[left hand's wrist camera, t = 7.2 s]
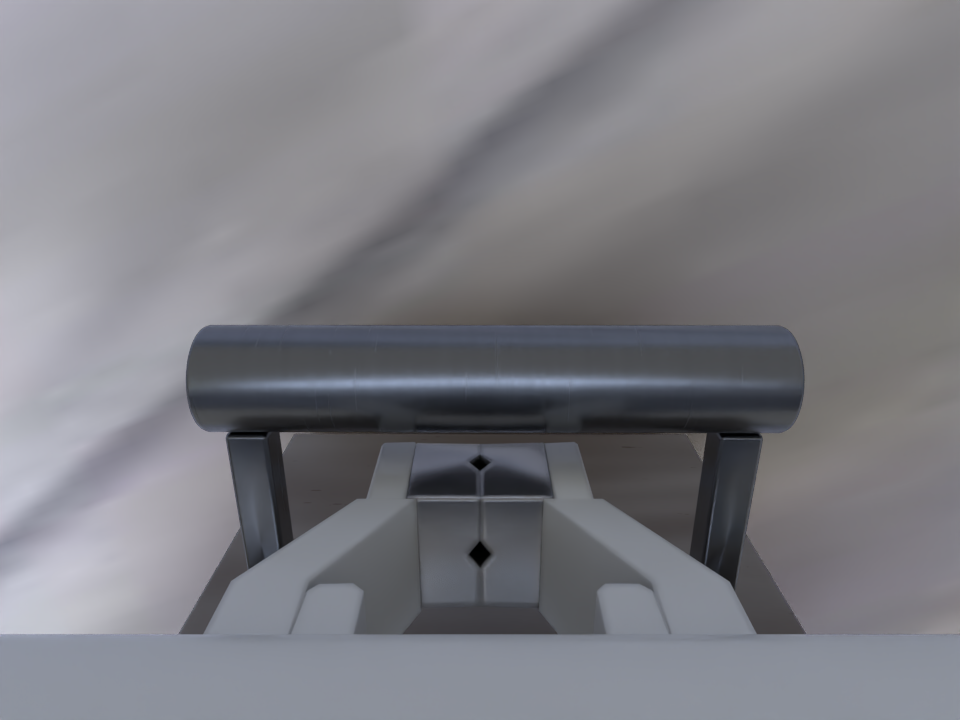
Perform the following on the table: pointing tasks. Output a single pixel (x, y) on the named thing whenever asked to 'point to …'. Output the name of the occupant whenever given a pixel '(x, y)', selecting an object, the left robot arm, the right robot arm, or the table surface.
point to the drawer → (502, 430)
